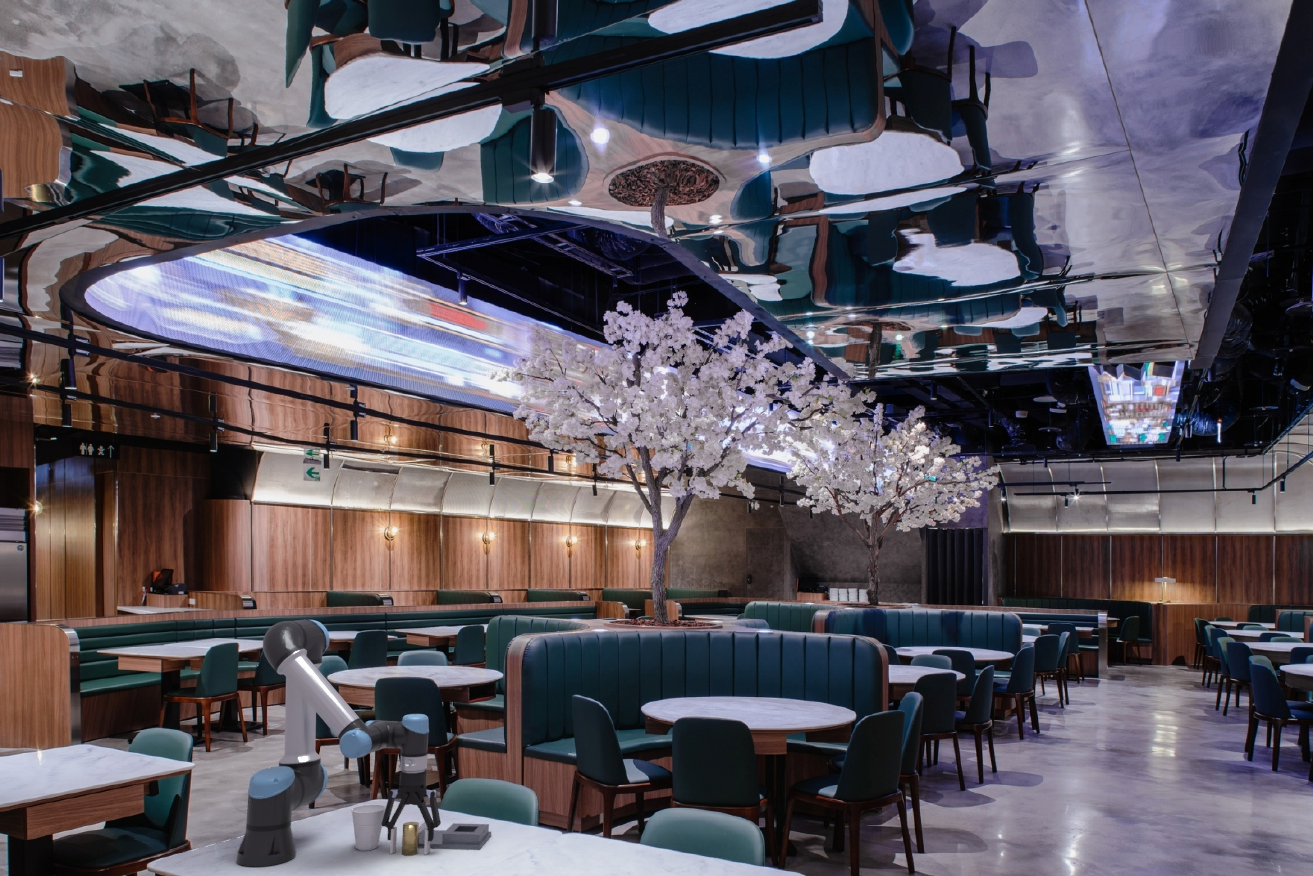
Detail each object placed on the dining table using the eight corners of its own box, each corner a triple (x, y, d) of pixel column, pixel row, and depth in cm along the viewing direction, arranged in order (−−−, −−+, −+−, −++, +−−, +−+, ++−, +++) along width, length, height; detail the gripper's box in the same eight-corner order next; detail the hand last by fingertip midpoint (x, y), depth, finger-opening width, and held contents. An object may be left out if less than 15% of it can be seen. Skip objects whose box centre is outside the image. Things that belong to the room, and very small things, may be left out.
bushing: (399, 855, 252) (400, 825, 254) (404, 851, 257) (406, 821, 258) (414, 856, 252) (416, 826, 253) (419, 851, 257) (420, 822, 258)
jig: (405, 847, 260) (405, 832, 260) (420, 834, 273) (421, 819, 274) (479, 849, 258) (480, 834, 259) (491, 835, 272) (491, 821, 273)
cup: (373, 854, 253) (375, 813, 255) (342, 851, 255) (344, 811, 257) (390, 844, 263) (392, 805, 265) (360, 841, 265) (362, 803, 267)
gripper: (371, 772, 255) (367, 855, 251) (447, 774, 254) (443, 857, 250) (381, 767, 262) (377, 847, 259) (454, 768, 261) (451, 849, 258)
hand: (409, 852), depth 255 cm, fingers open, 9 cm apart
